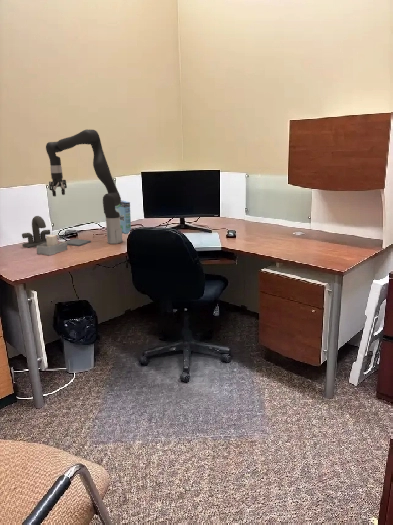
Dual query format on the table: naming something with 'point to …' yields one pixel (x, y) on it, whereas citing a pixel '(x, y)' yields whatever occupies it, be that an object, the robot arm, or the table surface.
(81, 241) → the mat
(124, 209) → the gum box
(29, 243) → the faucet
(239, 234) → the table surface
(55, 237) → the block
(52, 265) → the table surface
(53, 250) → the grey box
